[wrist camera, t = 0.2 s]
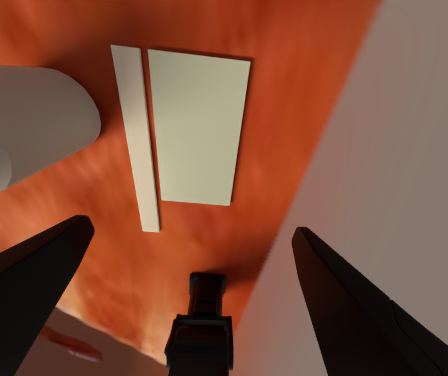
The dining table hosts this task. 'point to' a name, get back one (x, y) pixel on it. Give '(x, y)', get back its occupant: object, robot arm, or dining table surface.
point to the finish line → (137, 131)
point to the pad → (197, 124)
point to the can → (41, 120)
